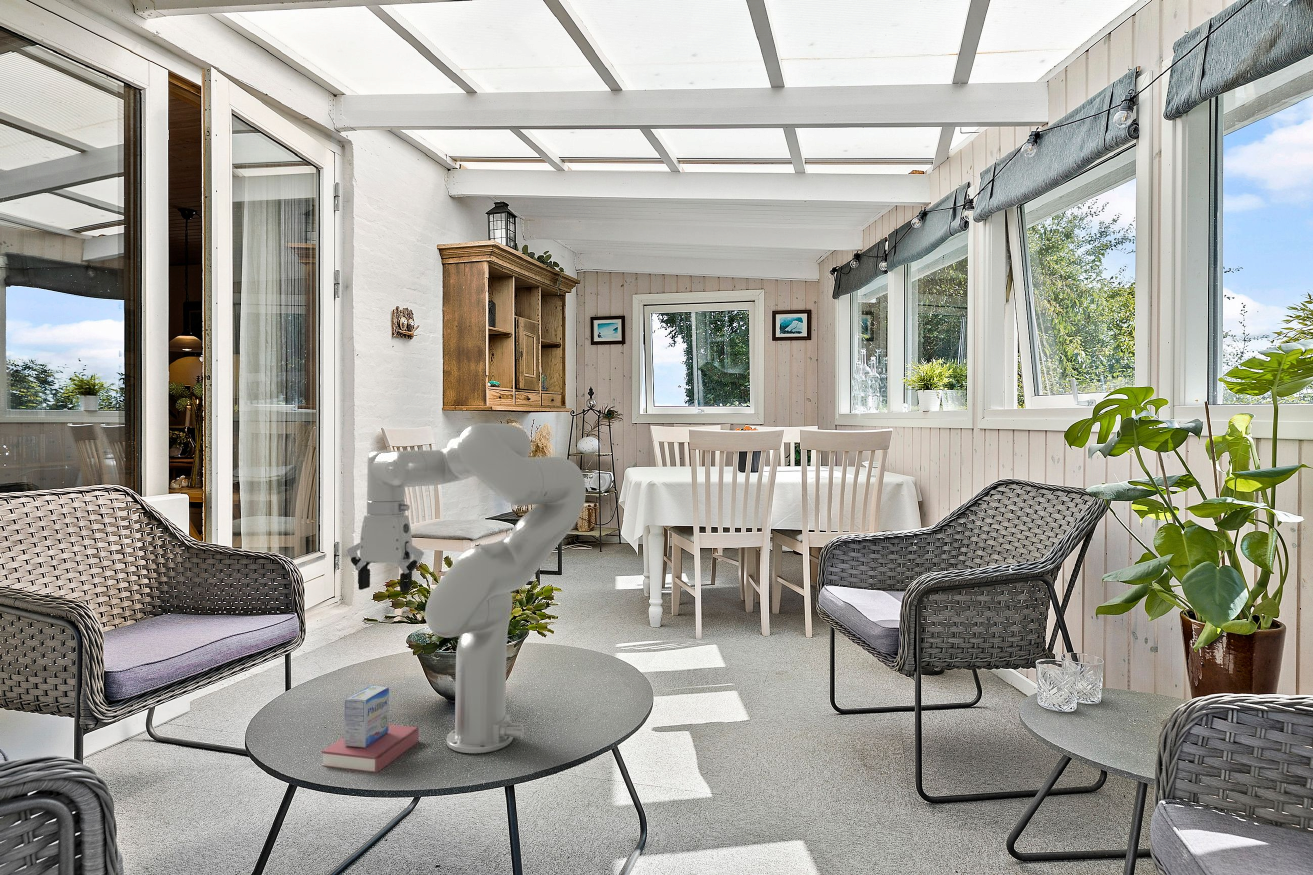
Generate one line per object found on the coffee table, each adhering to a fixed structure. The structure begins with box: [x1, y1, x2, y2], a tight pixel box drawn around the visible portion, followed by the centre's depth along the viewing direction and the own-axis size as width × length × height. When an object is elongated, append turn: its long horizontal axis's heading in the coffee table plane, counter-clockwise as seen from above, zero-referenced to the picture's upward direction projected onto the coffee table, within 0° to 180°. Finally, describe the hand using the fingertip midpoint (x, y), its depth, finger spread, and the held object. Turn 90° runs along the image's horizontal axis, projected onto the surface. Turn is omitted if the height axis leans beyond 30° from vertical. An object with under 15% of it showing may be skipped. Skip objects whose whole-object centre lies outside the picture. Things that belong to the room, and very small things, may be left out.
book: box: [321, 724, 420, 774], centre depth 140 cm, size 11×14×3 cm
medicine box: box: [343, 685, 390, 748], centre depth 139 cm, size 8×4×9 cm, turn 169°
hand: (384, 589), depth 159 cm, fingers open, 9 cm apart
